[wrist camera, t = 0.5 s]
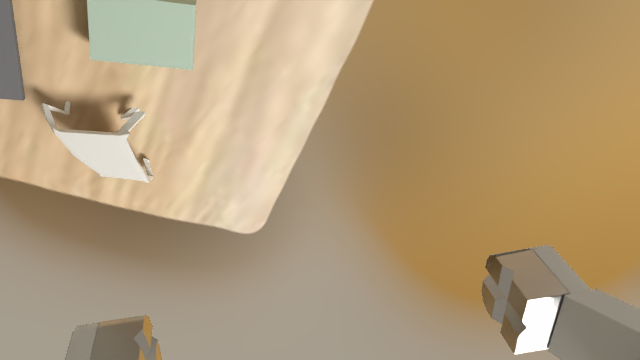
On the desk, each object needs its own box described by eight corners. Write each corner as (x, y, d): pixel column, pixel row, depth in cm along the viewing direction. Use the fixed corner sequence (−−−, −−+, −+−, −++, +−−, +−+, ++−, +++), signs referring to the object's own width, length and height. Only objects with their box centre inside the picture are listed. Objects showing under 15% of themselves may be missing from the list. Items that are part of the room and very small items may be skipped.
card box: (94, -19, 46) (86, -9, 42) (196, -5, 48) (195, 5, 45) (98, 45, 49) (90, 59, 45) (193, 55, 51) (192, 69, 48)
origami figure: (175, 111, 54) (173, 132, 50) (152, 173, 57) (148, 198, 53) (54, 70, 49) (40, 89, 45) (37, 141, 53) (23, 165, 49)
